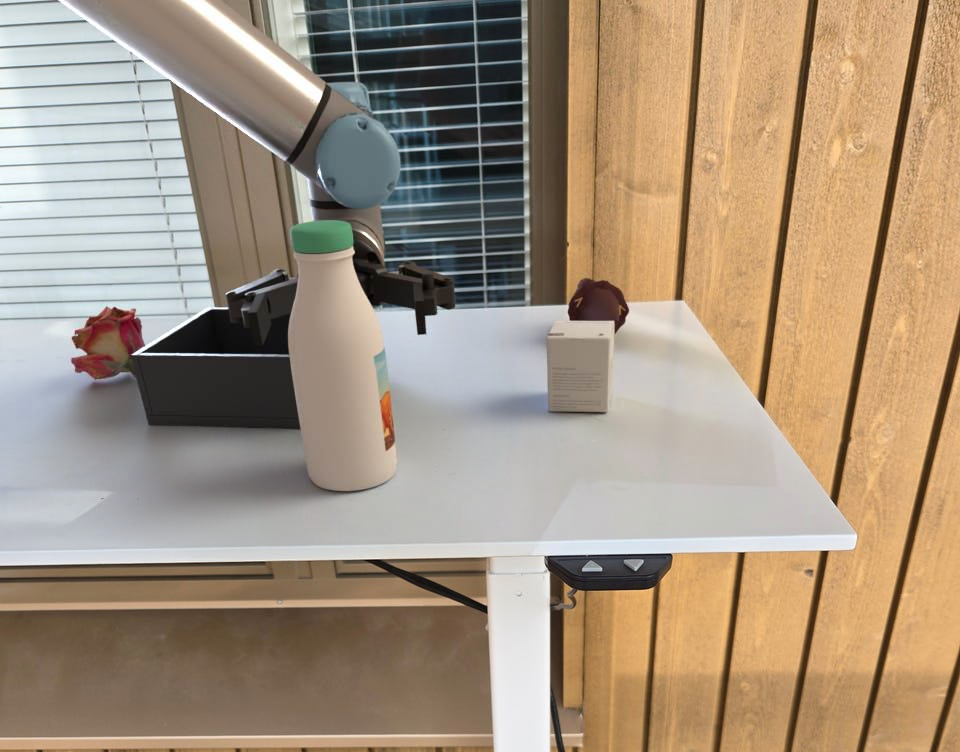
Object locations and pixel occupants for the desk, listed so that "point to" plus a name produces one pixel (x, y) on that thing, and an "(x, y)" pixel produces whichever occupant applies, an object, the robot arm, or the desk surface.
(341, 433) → the milk bottle
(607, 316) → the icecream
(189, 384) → the black open box
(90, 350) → the flower
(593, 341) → the white cardboard box
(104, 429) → the desk surface
